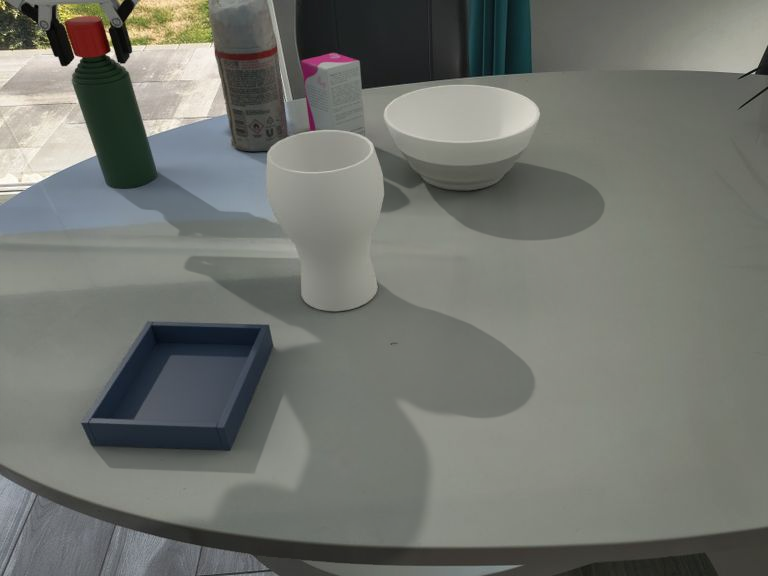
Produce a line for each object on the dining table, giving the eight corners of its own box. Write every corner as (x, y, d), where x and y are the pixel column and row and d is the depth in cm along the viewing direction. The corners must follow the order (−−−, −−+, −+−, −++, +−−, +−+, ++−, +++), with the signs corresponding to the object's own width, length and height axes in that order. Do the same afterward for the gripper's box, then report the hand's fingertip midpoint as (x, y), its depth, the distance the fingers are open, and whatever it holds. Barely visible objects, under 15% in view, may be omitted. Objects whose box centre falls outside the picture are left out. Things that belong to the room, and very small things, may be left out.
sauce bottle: (110, 192, 92) (58, 38, 80) (101, 173, 96) (51, 24, 85) (162, 181, 94) (119, 30, 83) (151, 163, 99) (109, 17, 87)
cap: (73, 50, 86) (63, 18, 84) (109, 45, 88) (100, 14, 85) (75, 59, 83) (64, 27, 81) (112, 54, 85) (102, 22, 83)
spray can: (301, 133, 107) (279, -17, 94) (277, 156, 100) (250, -2, 88) (248, 128, 108) (219, -21, 96) (221, 150, 102) (186, -5, 89)
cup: (375, 326, 70) (360, 180, 60) (270, 314, 71) (240, 171, 62) (403, 267, 78) (393, 131, 69) (308, 258, 80) (286, 124, 70)
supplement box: (368, 142, 104) (361, 59, 97) (334, 155, 101) (324, 70, 93) (343, 131, 107) (334, 50, 100) (309, 143, 104) (298, 60, 97)
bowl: (558, 159, 99) (563, 98, 94) (496, 221, 86) (498, 154, 81) (434, 133, 106) (432, 76, 101) (358, 187, 93) (352, 124, 88)
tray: (90, 445, 58) (80, 422, 56) (154, 342, 68) (147, 320, 66) (230, 450, 57) (224, 427, 56) (273, 346, 68) (269, 324, 66)
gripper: (-65, -113, 71) (8, 75, 83) (119, -117, 73) (166, 68, 84) (-35, -122, 77) (29, 55, 88) (135, -126, 79) (177, 48, 90)
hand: (96, 59), depth 86 cm, fingers open, 5 cm apart
